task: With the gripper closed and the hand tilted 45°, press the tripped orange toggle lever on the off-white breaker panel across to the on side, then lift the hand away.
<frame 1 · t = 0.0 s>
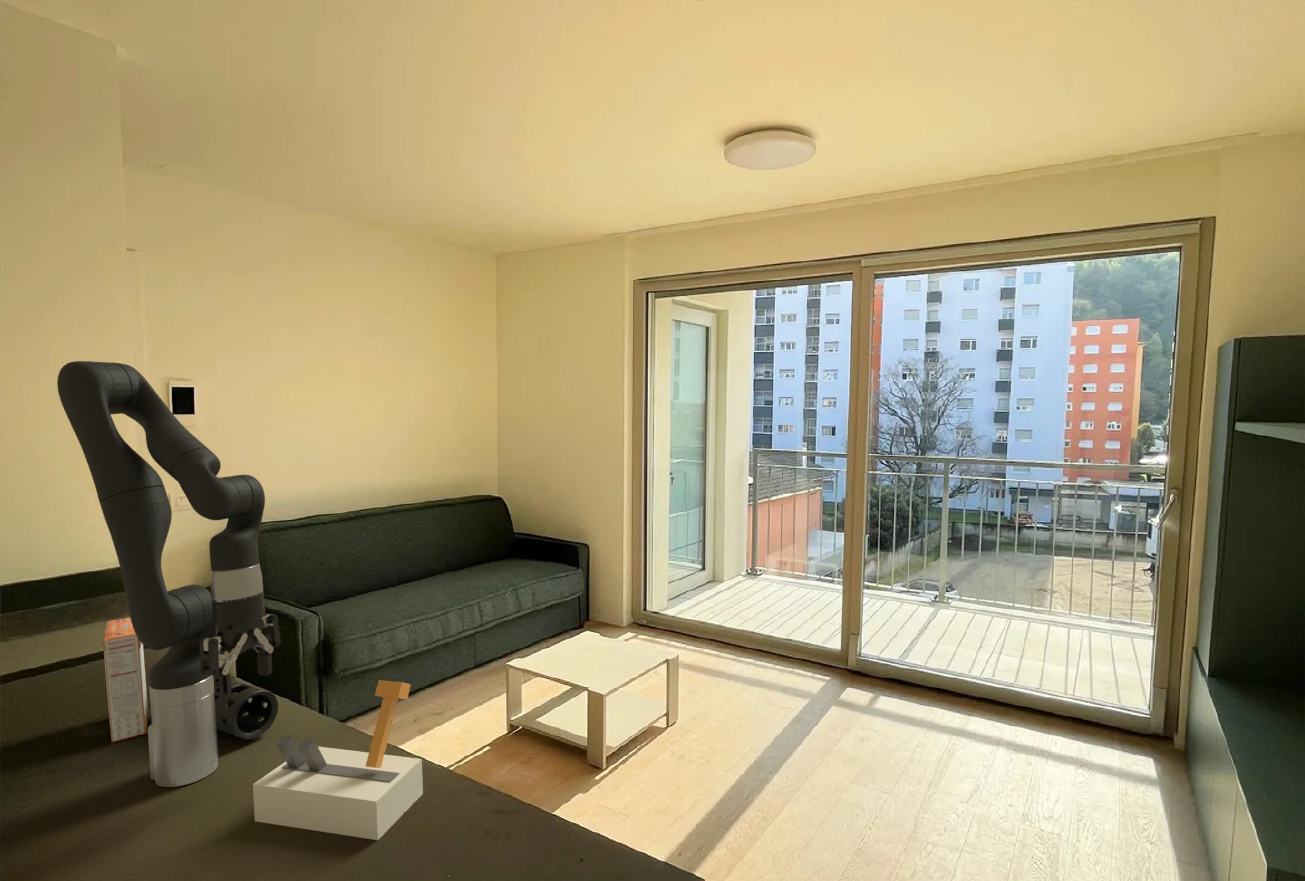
hand: (245, 685, 114), 17 cm above the countertop, tool pointing down, fingers open, 8 cm apart
breaker panel: (341, 807, 108), on the countertop
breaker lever: (384, 723, 109), point 13 cm above the countertop, hinge at -30.0°
muzzle brake: (216, 728, 136), on the countertop
cracker box: (129, 727, 136), on the countertop
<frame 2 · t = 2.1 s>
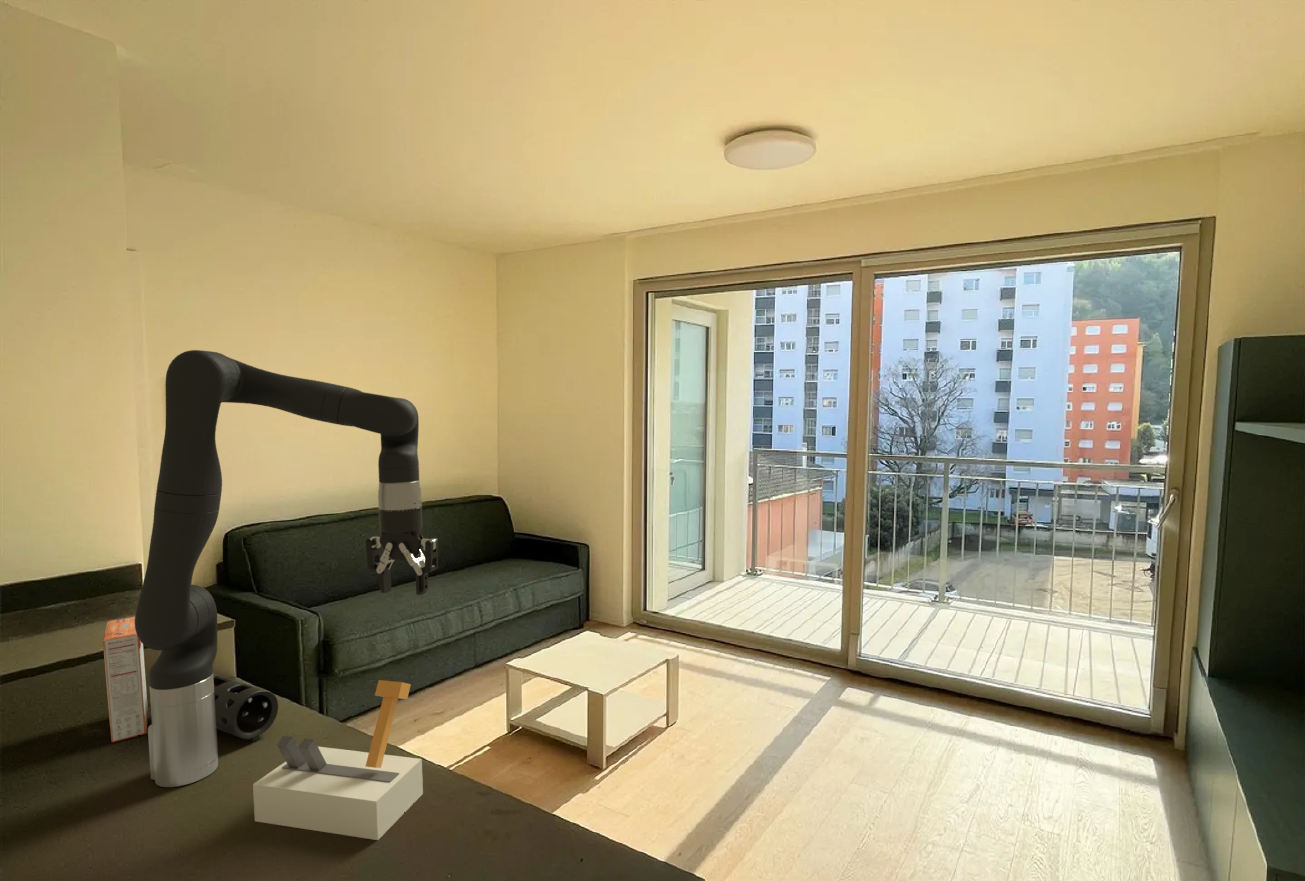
hand: (403, 592, 124), 30 cm above the countertop, tool pointing down, fingers open, 7 cm apart
nothing on the countertop moved.
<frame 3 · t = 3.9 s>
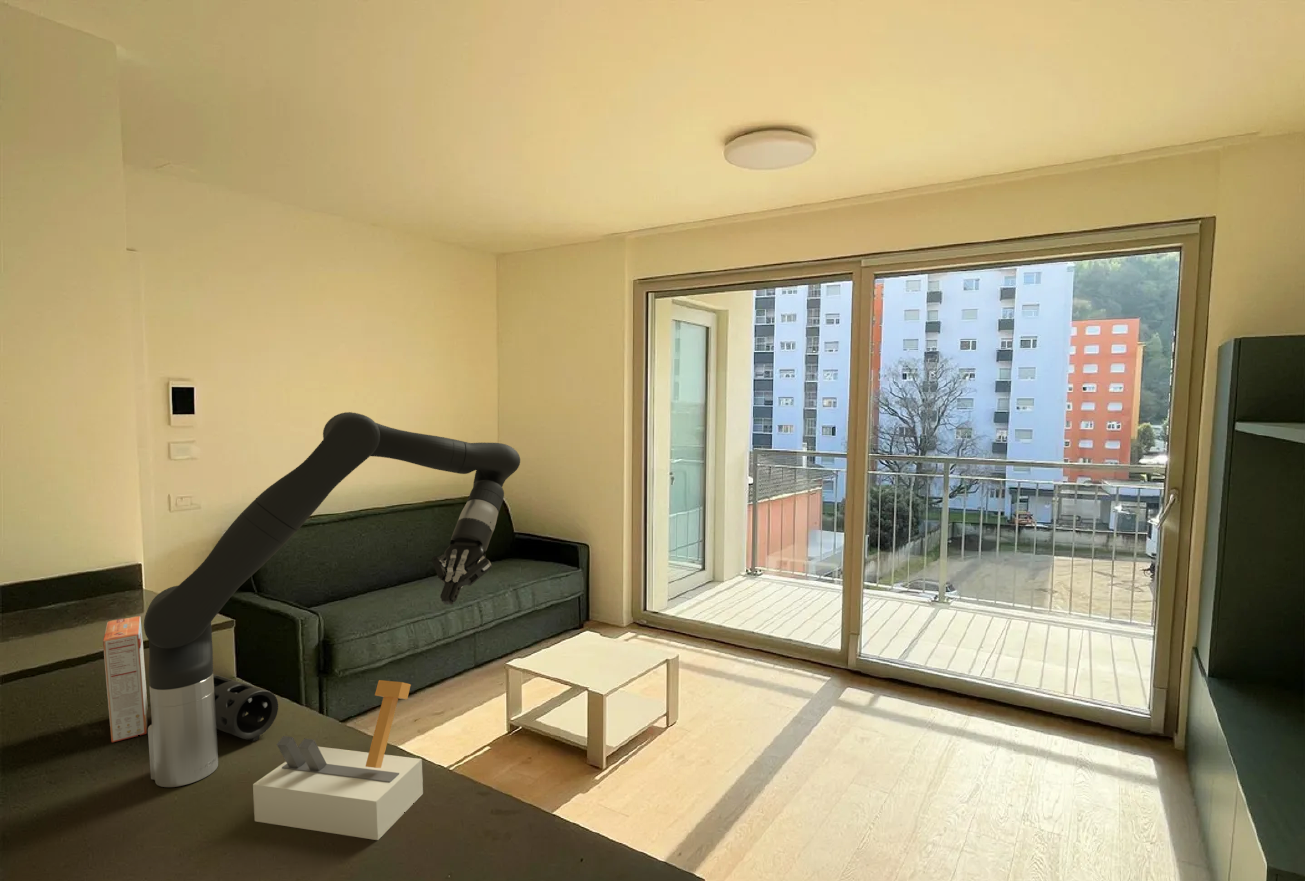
hand: (446, 602, 127), 27 cm above the countertop, tool tilted 45°, fingers closed
nothing on the countertop moved.
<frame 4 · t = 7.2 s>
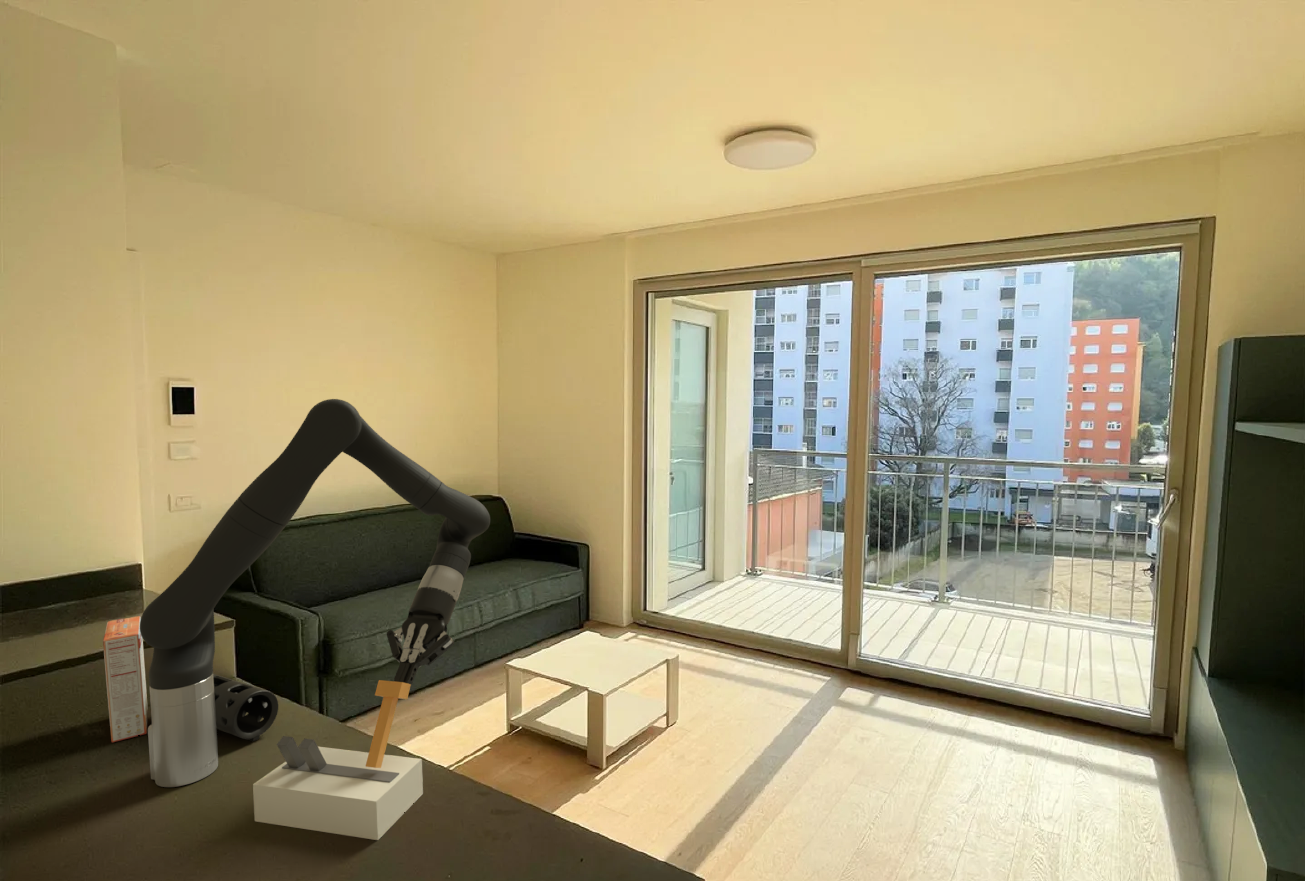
hand: (401, 686, 113), 17 cm above the countertop, tool tilted 45°, fingers closed
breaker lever: (384, 723, 109), point 13 cm above the countertop, hinge at -30.0°, touching gripper
everything else where it was.
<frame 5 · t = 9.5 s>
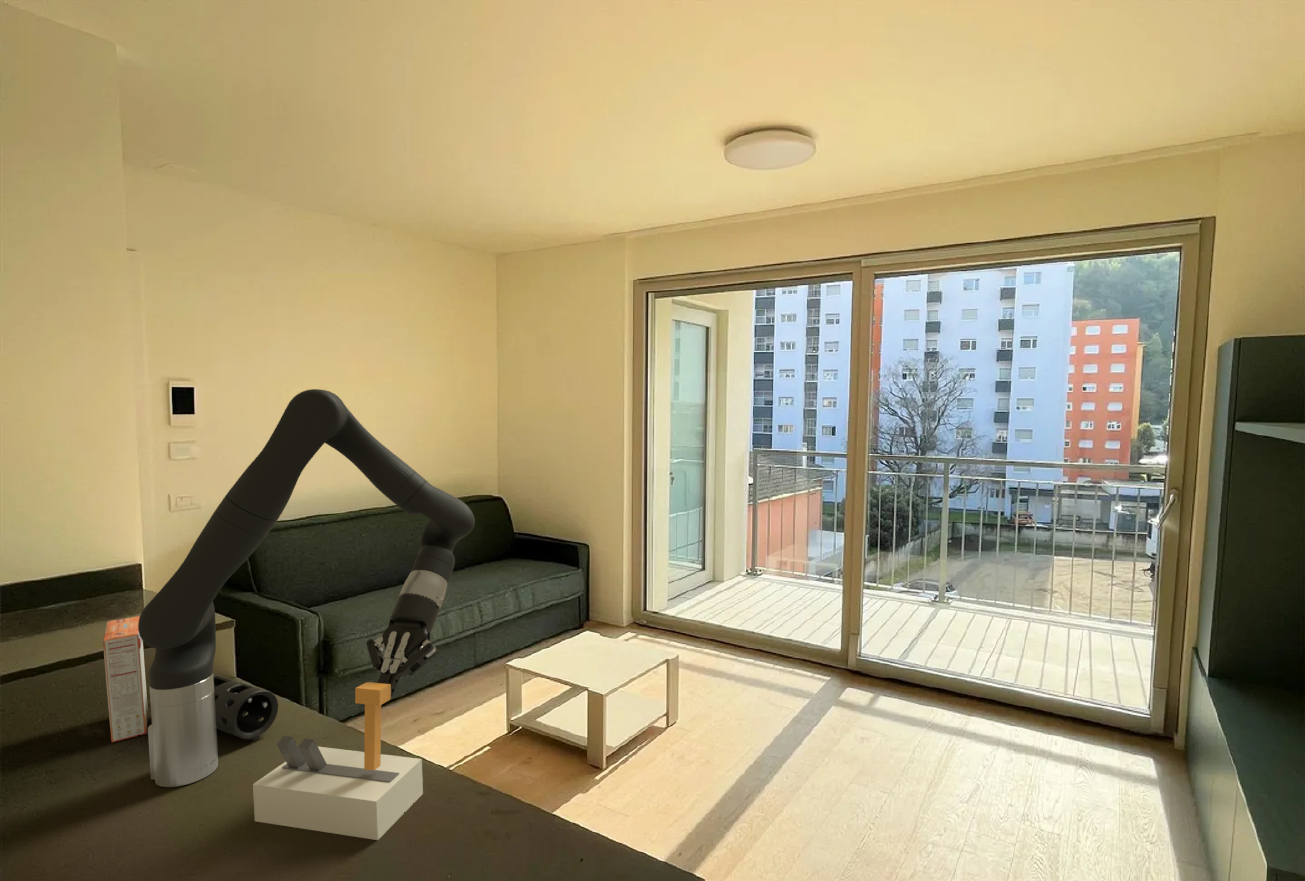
hand: (381, 698, 108), 17 cm above the countertop, tool tilted 45°, fingers closed
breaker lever: (372, 726, 106), point 14 cm above the countertop, hinge at -4.6°, touching gripper
everything else where it was.
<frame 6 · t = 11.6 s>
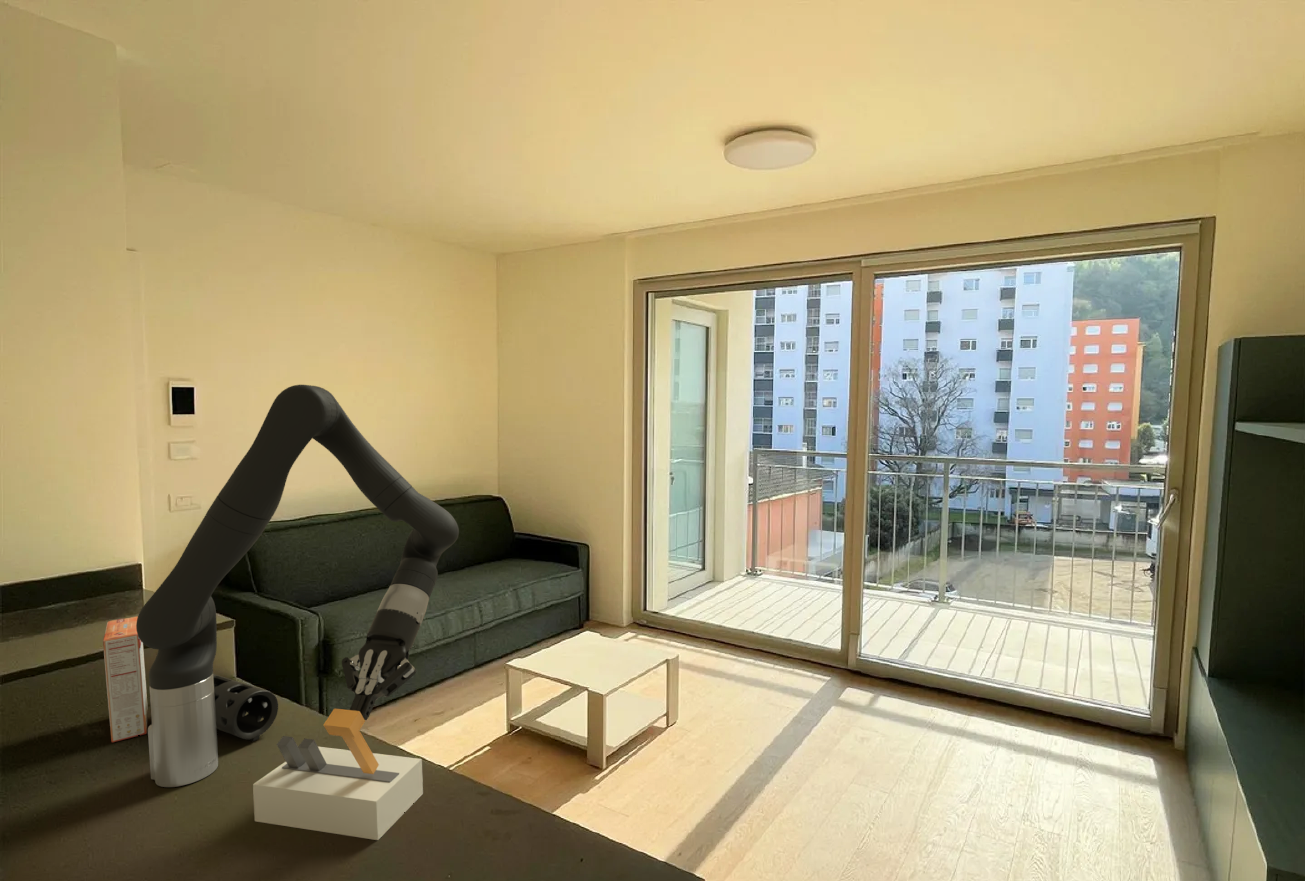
hand: (355, 721, 102), 17 cm above the countertop, tool tilted 45°, fingers closed
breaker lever: (356, 744, 102), point 13 cm above the countertop, hinge at 28.8°, touching gripper
everything else where it was.
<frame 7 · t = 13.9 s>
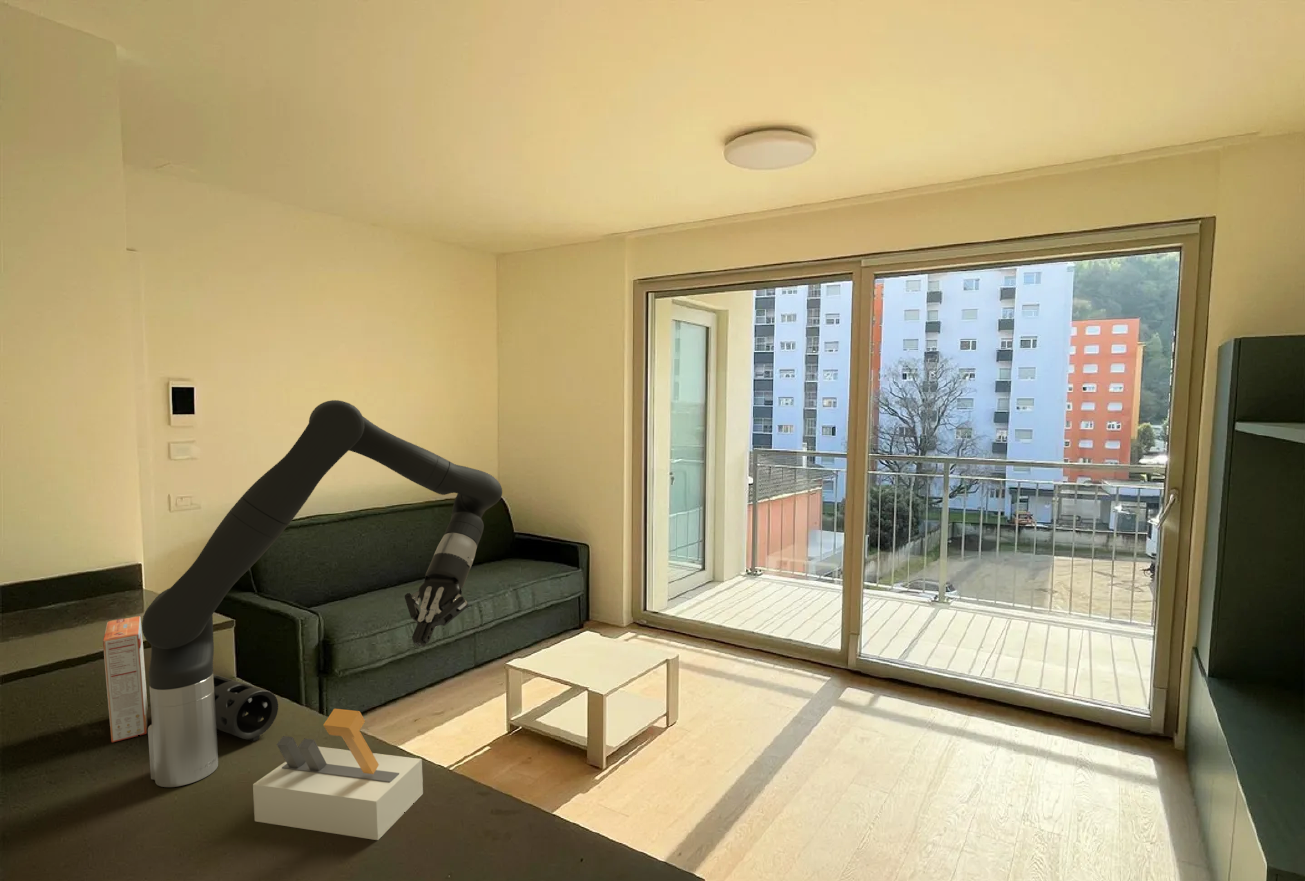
hand: (418, 644, 120), 22 cm above the countertop, tool tilted 45°, fingers closed
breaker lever: (356, 744, 102), point 13 cm above the countertop, hinge at 28.9°
everything else where it was.
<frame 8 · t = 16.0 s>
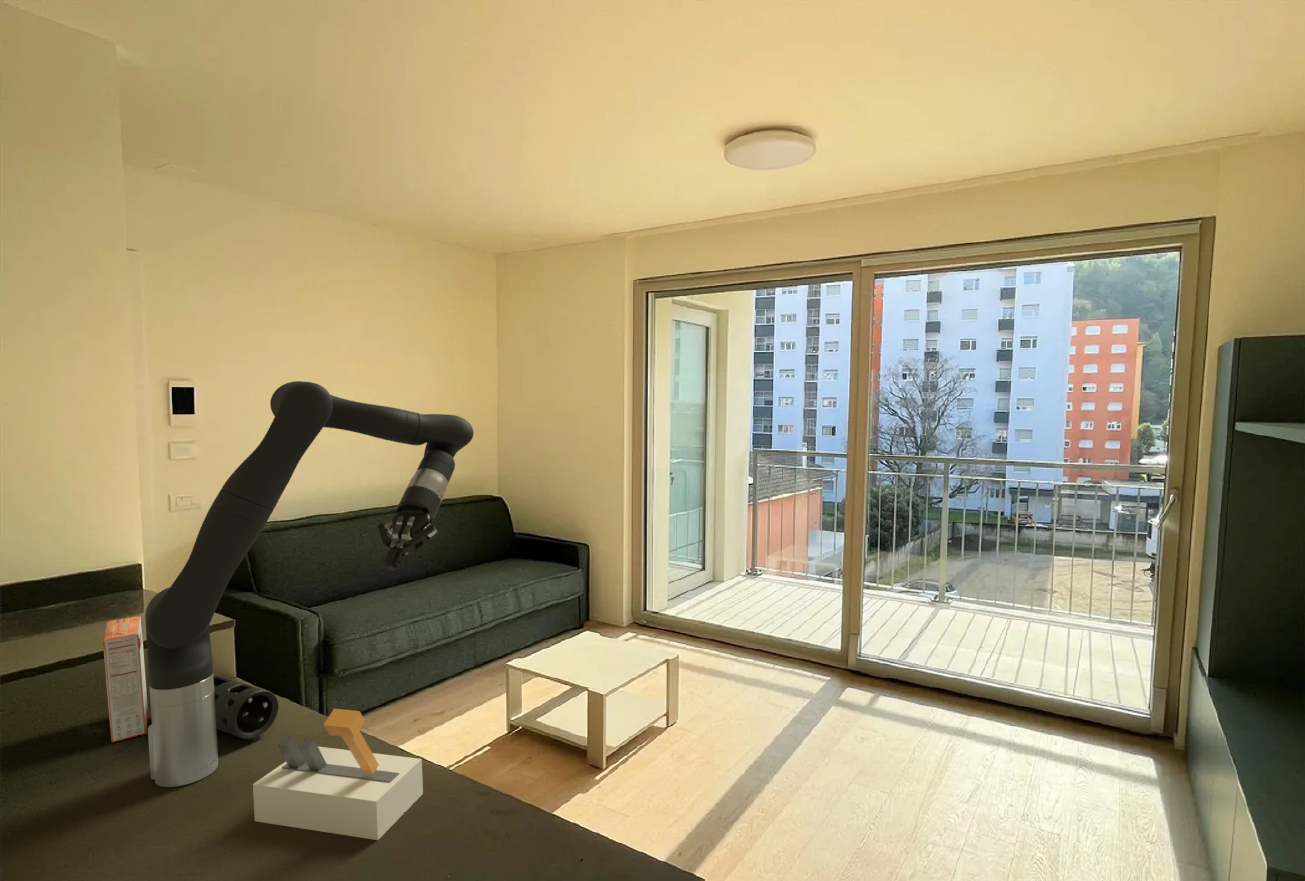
hand: (390, 568, 127), 34 cm above the countertop, tool tilted 45°, fingers closed
nothing on the countertop moved.
at the end: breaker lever at +29° (first picture: -30°); muzzle brake moved 0.4 cm from its start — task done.
